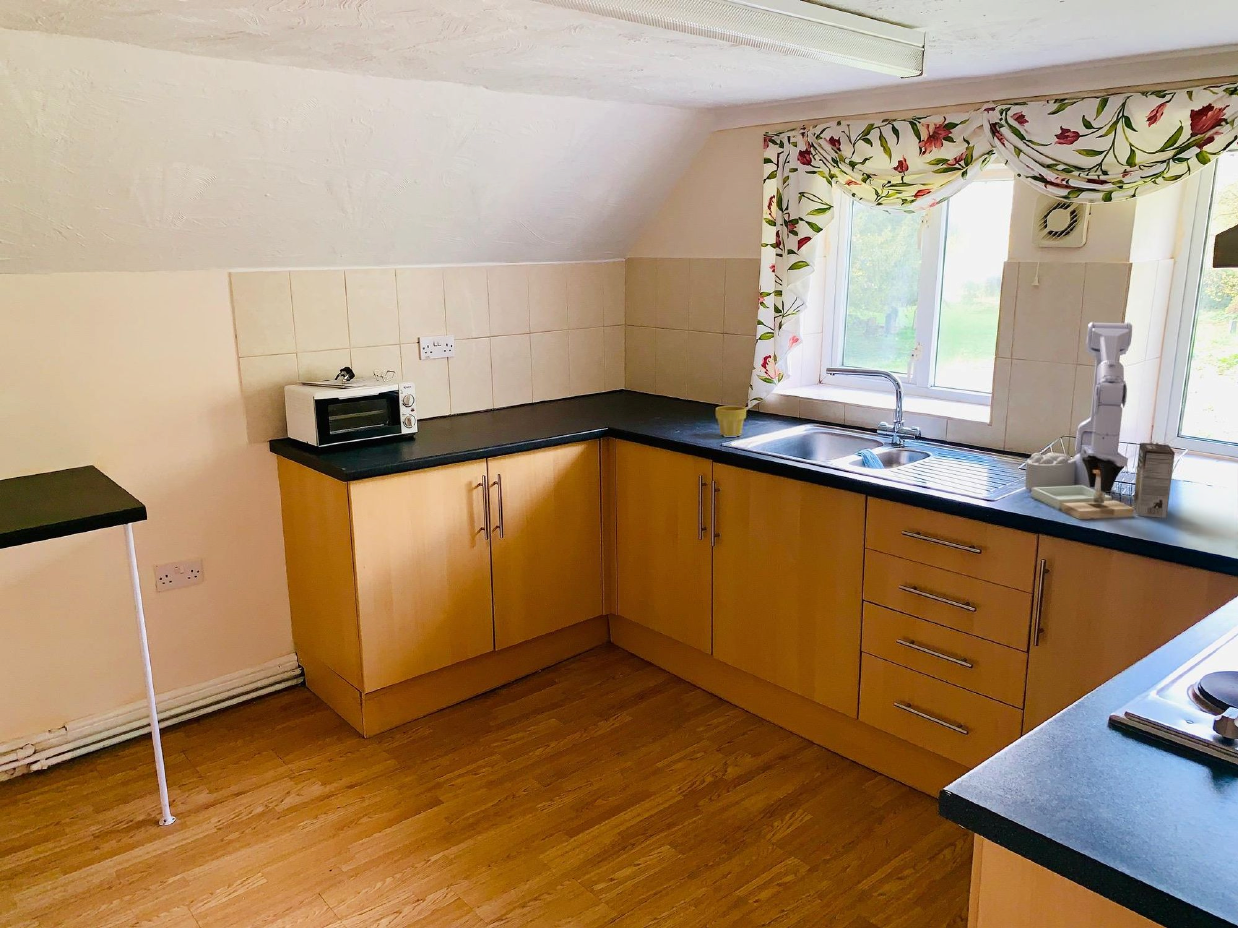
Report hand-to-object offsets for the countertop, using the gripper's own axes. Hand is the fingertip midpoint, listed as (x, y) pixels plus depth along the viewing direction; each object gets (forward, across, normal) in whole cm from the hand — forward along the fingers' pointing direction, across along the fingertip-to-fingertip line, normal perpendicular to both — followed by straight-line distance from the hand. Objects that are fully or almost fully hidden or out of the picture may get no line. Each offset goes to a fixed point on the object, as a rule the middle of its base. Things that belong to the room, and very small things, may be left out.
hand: (1100, 489), depth 226 cm
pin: (+3, 0, 0) cm, 3 cm away
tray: (+6, -11, 0) cm, 12 cm away
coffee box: (+6, +1, +13) cm, 15 cm away
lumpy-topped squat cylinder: (+6, -26, +3) cm, 27 cm away
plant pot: (+6, -109, -62) cm, 126 cm away
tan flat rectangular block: (+6, 0, 0) cm, 6 cm away
